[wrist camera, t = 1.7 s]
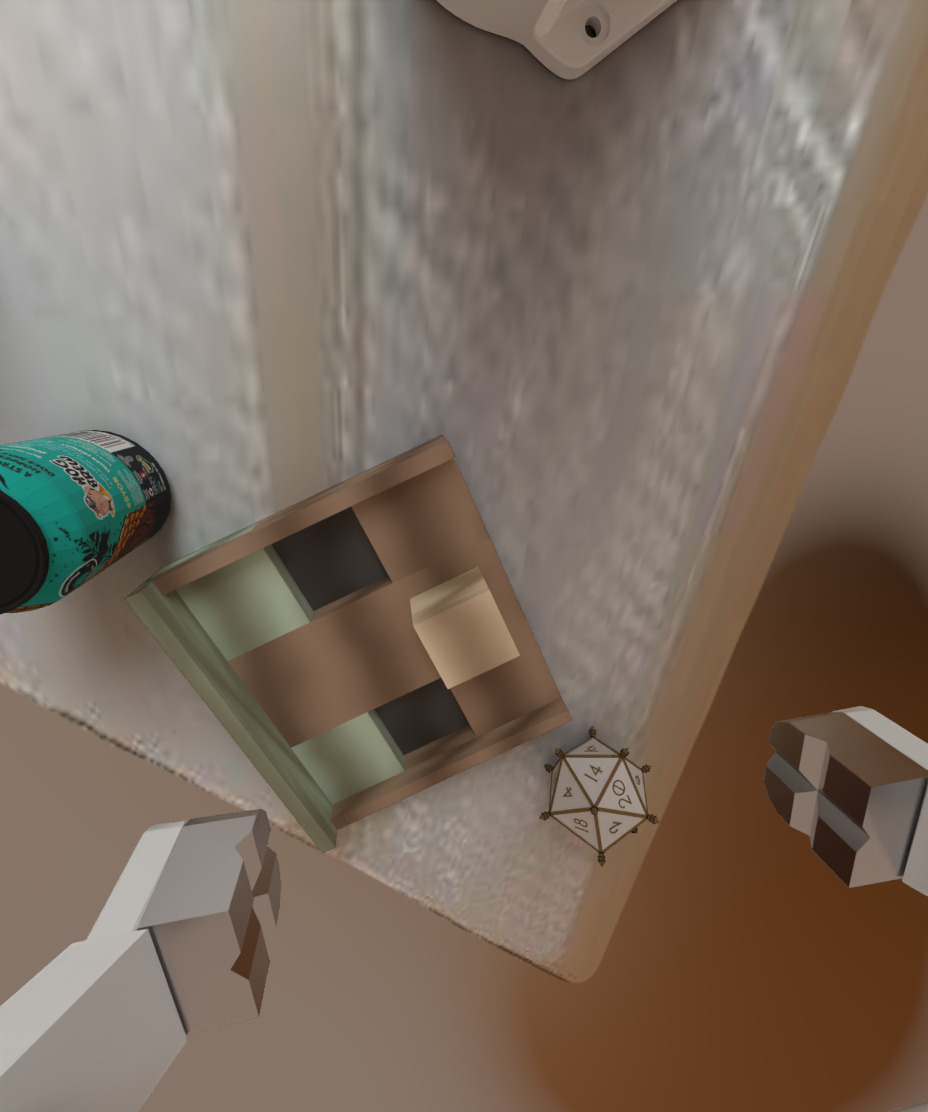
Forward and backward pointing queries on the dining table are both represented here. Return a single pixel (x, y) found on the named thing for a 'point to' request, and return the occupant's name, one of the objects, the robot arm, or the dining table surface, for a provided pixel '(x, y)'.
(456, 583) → the beech block
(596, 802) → the game die
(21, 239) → the dining table surface
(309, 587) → the box
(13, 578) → the beverage can
